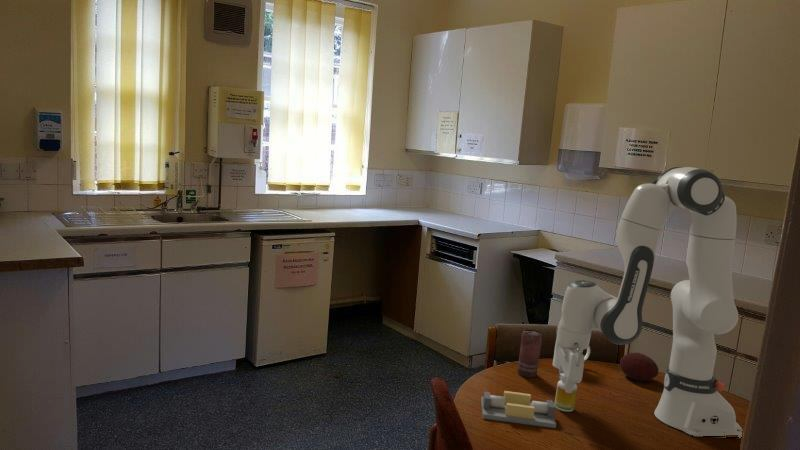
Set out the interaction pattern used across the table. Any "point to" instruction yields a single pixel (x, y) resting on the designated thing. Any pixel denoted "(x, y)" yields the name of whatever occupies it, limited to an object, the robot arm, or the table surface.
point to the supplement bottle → (565, 396)
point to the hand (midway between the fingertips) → (564, 384)
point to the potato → (638, 366)
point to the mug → (556, 362)
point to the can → (529, 353)
